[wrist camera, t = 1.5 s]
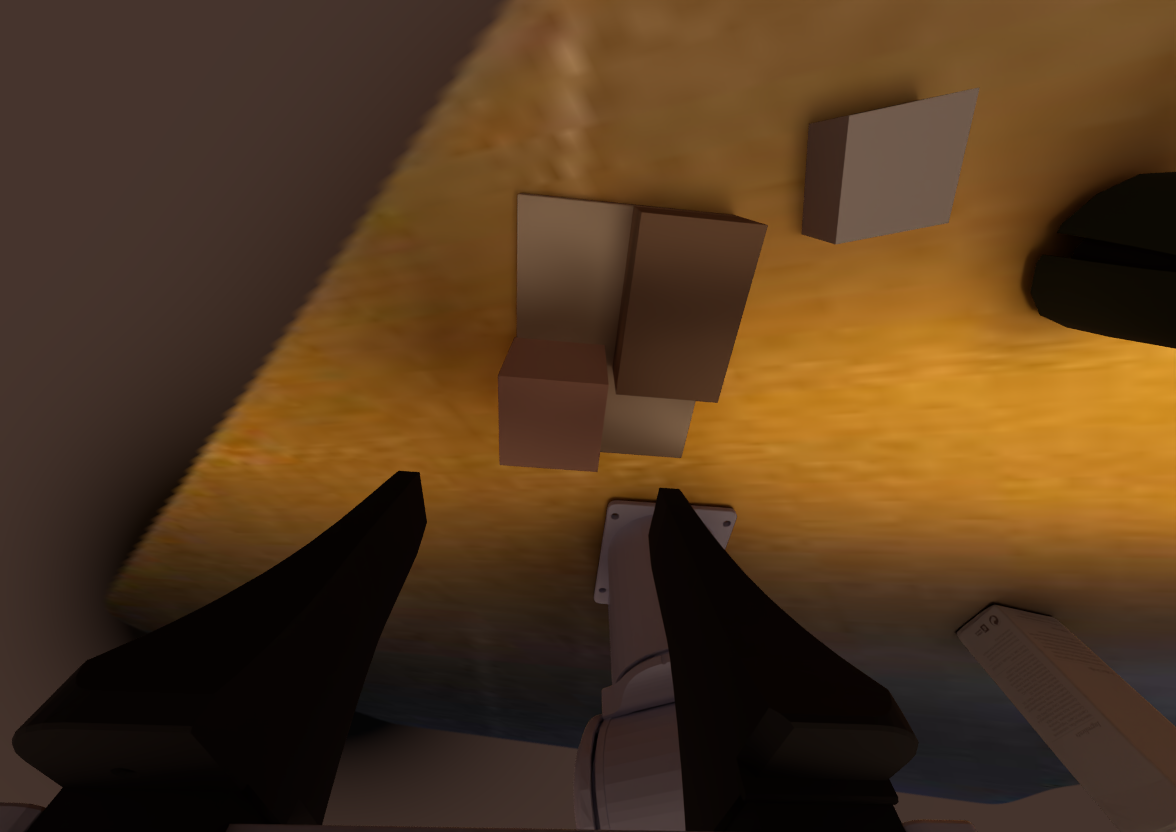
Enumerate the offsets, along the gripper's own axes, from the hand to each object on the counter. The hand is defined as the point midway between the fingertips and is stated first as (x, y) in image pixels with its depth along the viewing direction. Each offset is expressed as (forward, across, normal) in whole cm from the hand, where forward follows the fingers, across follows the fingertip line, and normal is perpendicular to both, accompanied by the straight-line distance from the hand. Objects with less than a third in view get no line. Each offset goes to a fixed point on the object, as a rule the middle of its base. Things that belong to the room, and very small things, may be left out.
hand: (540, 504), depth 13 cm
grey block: (+10, -12, -10) cm, 18 cm away
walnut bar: (+10, -5, -4) cm, 12 cm away
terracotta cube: (+9, 0, 0) cm, 9 cm away
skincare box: (+10, -36, +18) cm, 41 cm away
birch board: (+10, -3, -2) cm, 10 cm away
